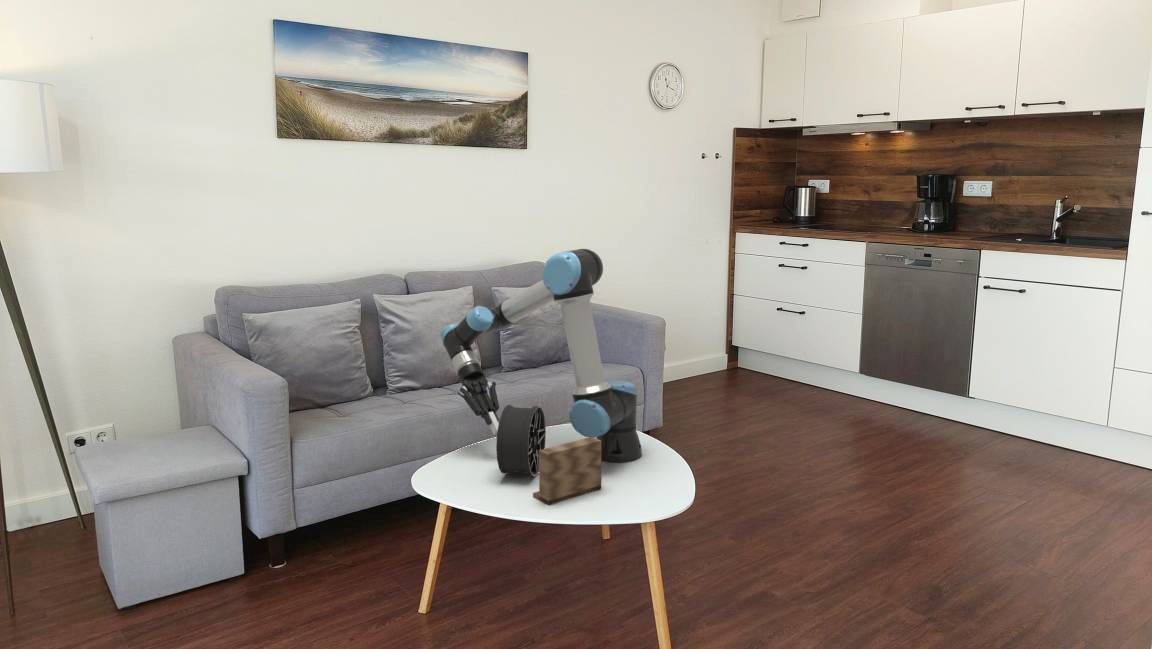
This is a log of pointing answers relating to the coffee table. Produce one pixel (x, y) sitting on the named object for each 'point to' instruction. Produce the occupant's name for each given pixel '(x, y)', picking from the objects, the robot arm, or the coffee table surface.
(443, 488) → the coffee table surface
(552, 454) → the stop board
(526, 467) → the wheel rim
